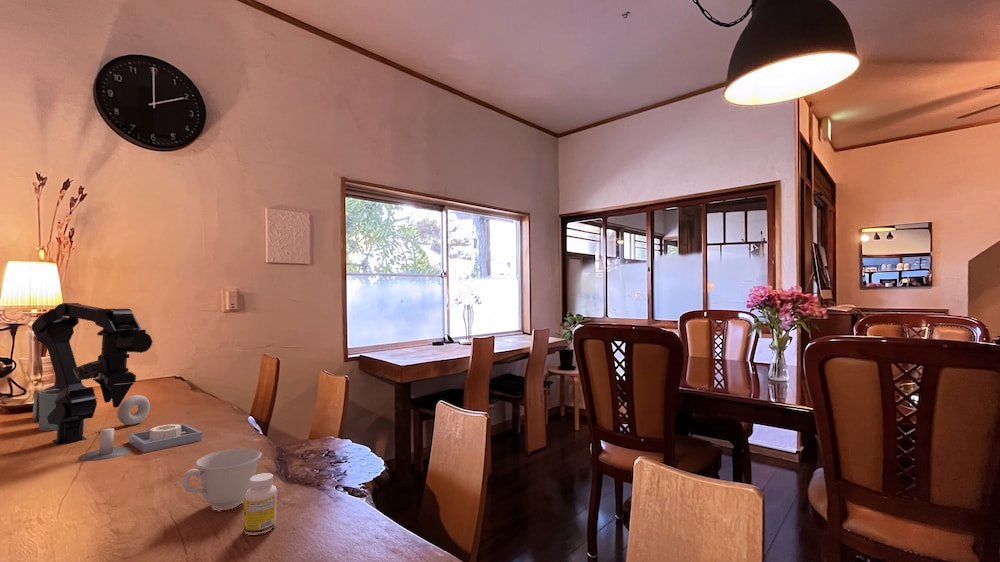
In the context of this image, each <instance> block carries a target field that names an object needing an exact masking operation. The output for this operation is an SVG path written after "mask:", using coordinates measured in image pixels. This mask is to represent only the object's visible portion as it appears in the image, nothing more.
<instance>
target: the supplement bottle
mask: <svg viewBox="0 0 1000 562" xmlns="http://www.w3.org/2000/svg"><path fill="white" fill-rule="evenodd" d="M273 483H274V475H273V474H272V473H270V472H264V473H258V474H255V476H252V477H251V478H250V482H249V487H250V489H249V490H248V491H247V492H246V494H245V497H244V510H243V511H244V512H243V515H244V518H243V532H244V531H245V533H248V534H255V533H261V532H264V531H267V530H268V529H271V528H272V527H273V526H275V524H276V525H277V506H278V505H277V501H278V500H277V498H278V488H277V487H276V485H274V484H273ZM275 527H276V526H275ZM245 533H244V534H245Z"/></svg>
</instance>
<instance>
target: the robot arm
mask: <svg viewBox="0 0 1000 562" xmlns="http://www.w3.org/2000/svg"><path fill="white" fill-rule="evenodd" d="M80 320H83V321H89V322H94V324H95V325H96V326H97V327H99V328H102V329H101V330H99V331H98V332H97V333H96V334H97V335H96V336H102V337H101V338H102V340H101V354H99V355H98V356H97V360H95V361H90V362H88V363H85V364H82V365H80V366H77V362H76V360H75V355H74V353H73V350H72V346H71V342H70V341H71V339H72V337H73V335H74V328H75V327H76V326H77V325H78V324H79V323H80V322H79V321H80ZM31 330H32V332H33V334H34V336H35V338H36V340H37V341H38V342H40V344H43V345H44V346H45V347H46V348H47V351H48V354H49V358H50V361H51V362H50V363H51V366H52V368H53V372H54V376H56V379H57V383H58V386H59V389H60V392H59V394H58V396H57V398H56V401H55V405H56V407H55V409H54V410H53V411H52V412H51V413H50V414H49V415H48V416H47V419H48V424H55V425H57V430H56V439H53V440H52V443H53V444H54V445H55V446H56V445H59V446H60V445H64V444H71V443H75V442H81V441H86V440H87V438H86V437H85V436H84V426H85V420H86V419H93V417H94V415H95V411H96V408H97V406H98V401H97V399H98V398H97V396H96V394H95V390H94V388H93V387H92V386H89V387H86V386H85V385H84V384H83V382H82V381H84V379H85V380H86V379H87V377H90V376H91V377H92V378H91V379H92V380H93V381H94V382H95V383H96V384H99V386H100V389H101V394H102V398H103V400H104V401H103V402H104V403H110V402H111V401H112V407H113V408H115V409H116V408H119V407H120V405H121V403H122V402H123V401H124V400H125V399H124V398H125V396H126V395H127V393H128V392H129V390H130V389H131V387H132V386H133V385H134V384H135V382H136V380H137V375H136V374H135V373H133V371H132V372H131V371H129V368H128V367H127V366H128V365H127V362H128V359H129V358H130V354H129V353H137V354H138V353H145V352H147V351H149V350H150V348H151V347H152V344H153V339H152V337H151V335H149V333H147V332H146V331H147V330H146V328H141V324H139V322H138V320H137V318H136V316H135V314H134V312H133V310H132V309H130V308H101V307H98V306H93V305H92V306H91V305H86V304H81V303H78V302H63V303H59V304H58V305H56V306H55V308H53V309H51V310H48V311H46V312H44V313H42V314H40V315H39V316H38V317H37V318H36V319H35V320H34V321H33V322H32V324H31ZM87 380H88V379H87Z"/></svg>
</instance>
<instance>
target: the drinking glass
mask: <svg viewBox="0 0 1000 562" xmlns="http://www.w3.org/2000/svg"><path fill="white" fill-rule="evenodd" d="M44 390H45V389H44ZM40 391H41V392H39V408H40V409H39V410H40V411H39V416H40V417H39V422H38V430H39V431H41V430H43V432H47V431H48V432H50V431H49V430H52V431H57V425H55V424H48V419H47V416H48V415H49V414H50V413H51V412H52V411H53V410H54V409H55V407H56V405H55V401H56V398H57V396H58V394H59V392H60V389H51V390H45V391H42V390H40ZM44 430H45V431H44Z"/></svg>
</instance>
